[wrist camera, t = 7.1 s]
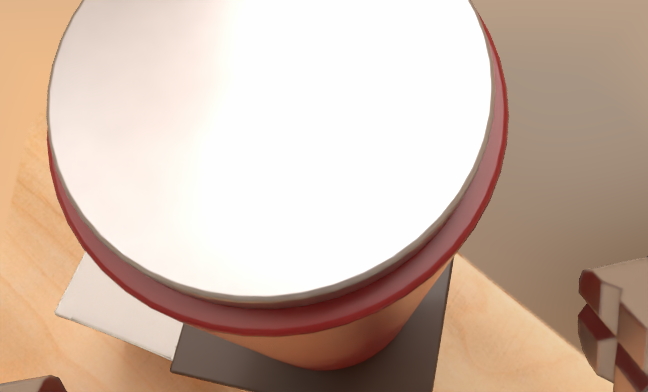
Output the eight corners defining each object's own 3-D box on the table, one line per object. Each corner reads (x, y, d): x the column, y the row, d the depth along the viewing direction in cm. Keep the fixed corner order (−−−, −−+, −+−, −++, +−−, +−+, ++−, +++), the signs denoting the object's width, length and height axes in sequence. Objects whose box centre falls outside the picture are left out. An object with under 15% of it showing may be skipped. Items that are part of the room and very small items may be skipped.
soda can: (208, 346, 19) (-63, 266, 7) (256, 169, 20) (113, -148, 8) (398, 390, 18) (485, 391, 6) (431, 203, 20) (550, -90, 8)
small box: (263, 296, 41) (234, 265, 31) (231, 375, 39) (189, 370, 29) (160, 257, 42) (99, 215, 32) (125, 332, 41) (50, 313, 31)
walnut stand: (268, 382, 39) (168, 372, 18) (296, 264, 42) (236, 137, 21) (388, 410, 38) (426, 433, 17) (409, 288, 41) (466, 181, 20)
